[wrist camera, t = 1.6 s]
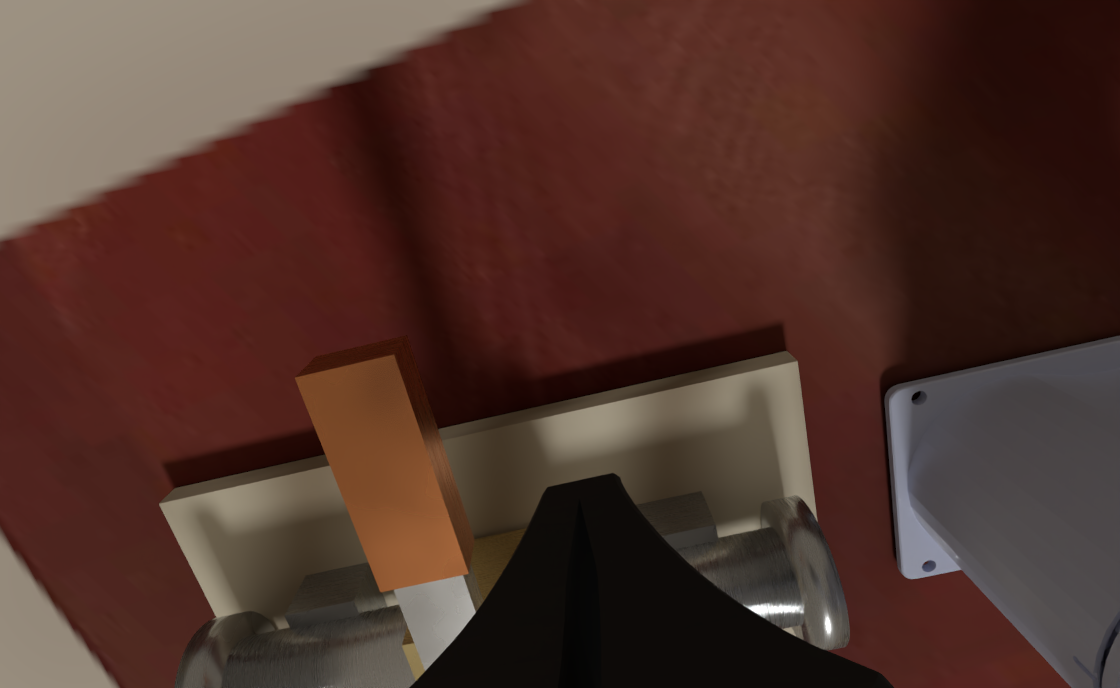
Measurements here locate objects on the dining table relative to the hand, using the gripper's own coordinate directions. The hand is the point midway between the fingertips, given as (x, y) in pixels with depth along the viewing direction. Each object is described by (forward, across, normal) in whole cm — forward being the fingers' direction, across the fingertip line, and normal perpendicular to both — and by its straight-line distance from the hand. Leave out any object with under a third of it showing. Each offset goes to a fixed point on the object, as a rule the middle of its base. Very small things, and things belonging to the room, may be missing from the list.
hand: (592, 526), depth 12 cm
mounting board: (+10, +4, +8) cm, 14 cm away
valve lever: (+3, +4, +3) cm, 6 cm away
